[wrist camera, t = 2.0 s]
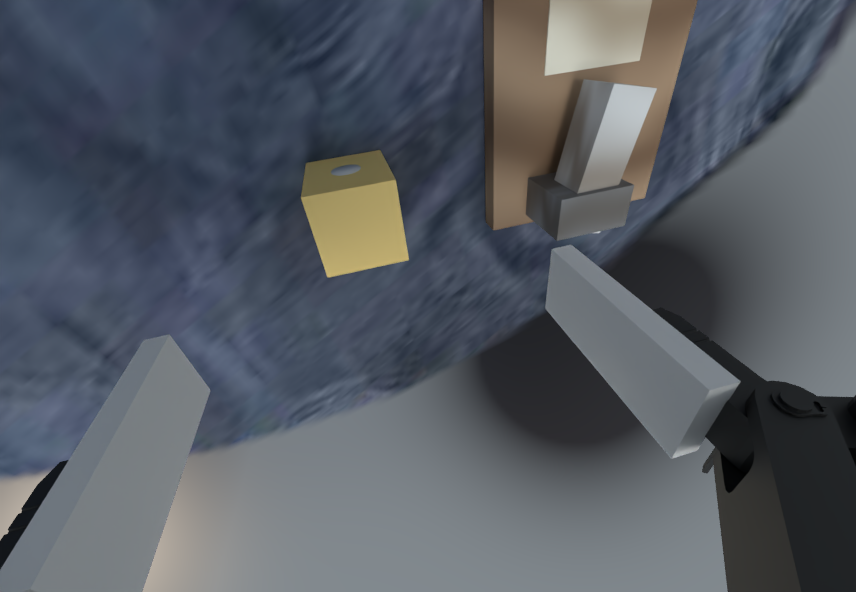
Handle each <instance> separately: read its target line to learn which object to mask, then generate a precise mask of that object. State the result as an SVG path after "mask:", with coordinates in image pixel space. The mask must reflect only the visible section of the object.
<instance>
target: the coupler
mask: <svg viewBox="0 0 856 592" xmlns="http://www.w3.org/2000/svg"><path fill="white" fill-rule="evenodd" d="M301 200H302V203H303V206H304V209H305V212H306V214H307V217H308V220H309V223H310V226H311V229H312V232H313V235H314V238H315V241H316V244H317V247H318V250H319V253H320V256H321V259H322V262H323V265H324V268H325V271H326V274H327V277H333V276H338V275H342V274H347V273H351V272H356V271H361V270H365V269H370V268H374V267H379V266H384V265H388V264H393V263H397V262H402V261H407V260H409V258H408V251H407V245H406V239H405V233H404V227H403V221H402V215H401V209H400V202H399V196H398V190H397V184H396V179H395V177H394V175H393V173H392V172H391V170H390V168H389V166H388V164H387V162H386V160H385V158H384V156H383V154H382V152H381V150H377V151H371V152H365V153H360V154H354V155H348V156H343V157H337V158H331V159H326V160H320V161H314V162H309V163H306V166H305V173H304V180H303V186H302V193H301Z"/></svg>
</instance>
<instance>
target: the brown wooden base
mask: <svg viewBox="0 0 856 592" xmlns="http://www.w3.org/2000/svg"><path fill="white" fill-rule="evenodd" d="M696 4H697V0H483V26H484V112H485V197H486V223H487V224H488V225H489V226H490V227H491V228H492V229H493V230H498V229H502V228H507V227H512V226H516V225H521V224H526V223H530V222H535V223H536V224H537V225H539V226H540V227H541V228H542V229H543V230H545V231H546V232H547V233H548V234H549V235H550V236H552V237H553V238H554V239H555V240H556V241H558V240H563V239H567V238H572V237H576V236H581V235H585V234H590V233H600V231H603V230H608V229H612V228H616V227H621V226H625V222H626V217H627V213H628V209H629V205H630V201H633V200H637V199H642V198H645V194H646V191H647V187H648V183H649V179H650V176H651V172H652V168H653V165H654V161H655V157H656V153H657V150H658V146H659V142H660V138H661V135H662V131H663V127H664V124H665V120H666V116H667V112H668V109H669V105H670V101H671V97H672V94H673V90H674V86H675V82H676V79H677V75H678V71H679V68H680V64H681V60H682V56H683V53H684V49H685V45H686V41H687V38H688V34H689V30H690V27H691V23H692V19H693V15H694V12H695V8H696Z"/></svg>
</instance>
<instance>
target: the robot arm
mask: <svg viewBox="0 0 856 592" xmlns="http://www.w3.org/2000/svg"><path fill="white" fill-rule="evenodd" d="M545 309H546V310H547V311H548V312H549V313H550V315H551V316H552V317H553V318H554V319H555V321H556V322H557V323H558V324H559V325H560V327H561V328H562V329H563V330H564V331H565V332H566V333H567V335H568V336H569V337H570V338H571V340H572V341H573V342H574V343H575V344H576V346H577V347H578V348H579V349H580V350H581V351H582V353H583V354H584V355H585V356H586V357H587V359H588V360H589V361H590V362H591V363H592V365H593V366H594V367H595V368H596V369H597V371H598V372H599V373H600V374H601V375H602V376H603V378H604V379H605V380H606V381H607V383H608V384H609V385H610V386H611V387H612V388H613V390H614V391H615V392H616V393H617V394H618V396H619V397H620V398H621V399H622V400H623V402H624V403H625V404H626V405H627V406H628V408H629V409H630V410H631V411H632V412H633V414H634V415H635V416H636V417H637V418H638V420H639V421H640V422H641V423H642V424H643V425H644V427H645V428H646V429H647V430H648V431H649V433H650V434H651V435H652V436H653V437H654V439H655V440H656V441H657V442H658V443H659V445H660V446H661V447H662V448H663V449H664V450H665V452H666V453H667V454H668V455H669V457H670V458H675V457H678V456H681V455H685V454H688V453H691V452H694V451H697V450H698V448H699V447H700V445H701V444H702V442H703V441H704V439H705V437H706V438H707V439H708V440H709V441H710V442H711V443H712V444H713V445H714V446H715V448H714V450H713V451H712V453H711V454H710V456H709V457H708V459H707V460H706V462H705V463H704V465H703V469H702V472H704V473H708V472H709V470H710V469H711V467H712V466H713V465H714V474H715V483H716V491H717V501H718V509H719V518H720V527H721V536H722V544H723V552H724V553H723V554H724V562H725V570H726V580H727V589H728V592H856V396H855V397H821V396H816V395H814V394H813V393H811V392H809V391H807V390H805V389H803V388H801V387H799V386H796V385H792V384H789V383H786V382H779V381H768V382H767V381H766V380H764V379H763V378H761V377H760V376H758V375H757V374H756V373H754V372H753V371H752V370H750V369H749V368H748V367H747V366H745V365H744V364H743V363H741V362H740V361H739V360H737V359H736V358H734V357H733V356H732V355H731V354H729V353H728V352H727V351H725V350H724V349H723V348H722V347H720V346H719V345H718V344H716V343H715V342H714V341H710V340H709V338H708V337H707V336H706V335H704V334H703V333H702V332H700V331H697V330H696V328H695V327H694V326H692V325H691V324H690V323H689V322H687V321H686V320H685V319H683V318H682V317H681V316H679V315H676V314H674V313H672V312H670V311H667V310H665V309H663V308H659V309H654V310H651V309H650V308H649V307H648V306H646V305H645V304H644V303H643V302H642V301H640V300H639V299H638V298H636V297H635V296H634V295H633V294H632V293H630V292H629V291H627V289H625V288H624V287H623V286H622V285H620V284H619V283H618V282H617V281H616V280H614V279H613V278H612V277H611V276H609V275H608V274H607V273H606V272H604V271H603V270H602V269H601V268H599V267H598V266H597V265H596V264H594V263H593V262H592V261H591V260H589V259H588V258H587V257H586V256H584V255H583V254H582V253H581V252H580V251H578V250H577V249H576V248H575V247H573V246H572V245H568V246H564V247H559V248H555V249H552V252H551V261H550V270H549V279H548V288H547V297H546V307H545ZM209 393H210V389H209V387H208V386H207V385H206V383H205V382H204V381H203V379H202V378H201V377H200V375H199V374H198V373H197V371H196V370H195V368H194V367H193V366H192V364H191V363H190V362H189V360H188V359H187V358H186V356H185V355H184V354H183V352H182V351H181V349H180V348H179V347H178V345H177V344H176V343H175V341H174V340H173V339H172V337H171V336H170V335H165V336H160V337H156V338H151V339H147V340H144V341H143V342H142V344H141V345H140V347H139V349H138V350H137V352H136V353H135V355H134V357H133V358H132V360H131V361H130V363H129V365H128V366H127V368H126V369H125V371H124V373H123V374H122V376H121V377H120V379H119V381H118V382H117V384H116V385H115V387H114V389H113V390H112V392H111V393H110V395H109V397H108V398H107V400H106V401H105V403H104V405H103V406H102V408H101V409H100V411H99V413H98V414H97V416H96V417H95V419H94V421H93V422H92V424H91V425H90V427H89V429H88V430H87V432H86V433H85V435H84V437H83V438H82V440H81V441H80V443H79V445H78V446H77V448H76V449H75V451H74V453H73V454H72V456H71V457H70V459H69V460H67V461H63V462H60V463H59V464H58V465H57V466H56V467H55V468H54V469H53V470H52V471H51V472H50V473H49V474H48V475H47V476H46V477H45V478H44V479H43V480H42V481H41V482H40V483H39V484H38V485H37V486H36V488H35V489H34V491H33V492H32V494H31V495H30V497H29V498H28V500H27V501H26V503H25V504H24V506H23V507H22V513H20V514H18V515H17V517H16V518H15V520H14V521H13V523H12V524H11V526H10V527H9V529H8V530H9V532H8V534H6V535H4V536H3V538H2V539H1V541H0V592H142V591H143V588H144V584H145V582H146V579H147V576H148V573H149V570H150V567H151V564H152V561H153V558H154V555H155V552H156V549H157V546H158V543H159V540H160V538H161V534H162V532H163V529H164V526H165V523H166V520H167V517H168V514H169V511H170V508H171V505H172V502H173V499H174V496H175V493H176V490H177V487H178V484H179V482H180V479H181V475H182V473H183V470H184V467H185V464H186V461H187V458H188V455H189V452H190V449H191V446H192V443H193V440H194V437H195V434H196V431H197V429H198V426H199V423H200V420H201V417H202V414H203V411H204V408H205V405H206V402H207V399H208V396H209Z"/></svg>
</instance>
